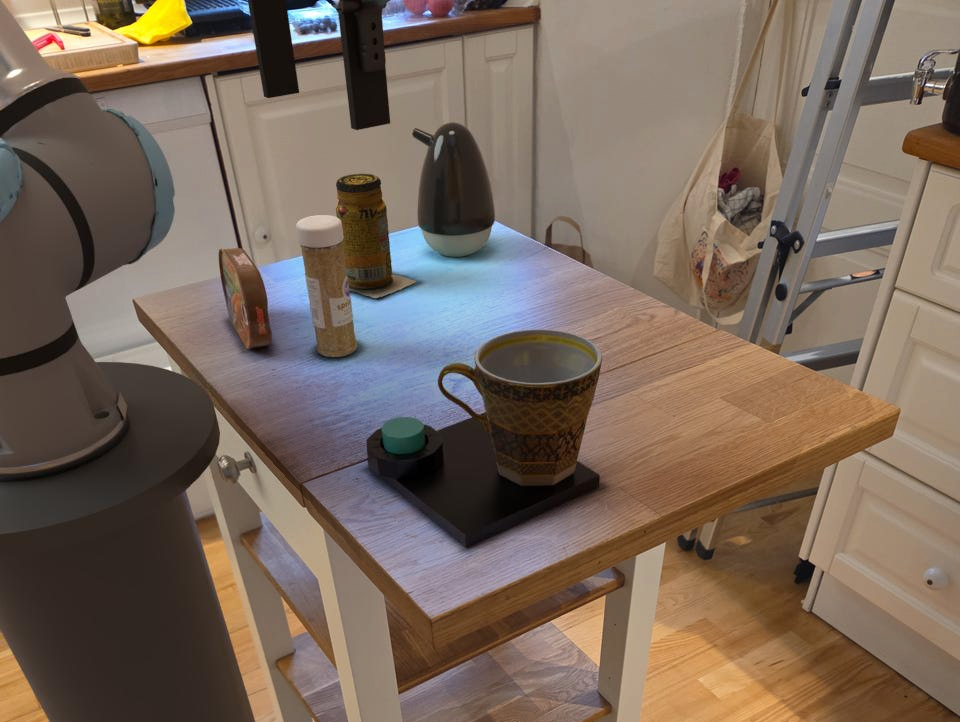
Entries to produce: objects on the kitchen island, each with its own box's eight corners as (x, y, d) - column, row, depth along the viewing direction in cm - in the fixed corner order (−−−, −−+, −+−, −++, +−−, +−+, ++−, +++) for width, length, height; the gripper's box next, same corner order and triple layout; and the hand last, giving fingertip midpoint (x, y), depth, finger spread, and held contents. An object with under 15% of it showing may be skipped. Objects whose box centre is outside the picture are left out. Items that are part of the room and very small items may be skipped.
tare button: (376, 443, 76) (373, 425, 75) (410, 430, 78) (409, 412, 77) (398, 460, 74) (396, 441, 73) (433, 446, 76) (432, 428, 74)
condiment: (371, 268, 115) (359, 167, 106) (417, 283, 110) (409, 178, 102) (329, 285, 111) (314, 181, 102) (375, 301, 106) (363, 194, 98)
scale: (356, 468, 78) (352, 438, 76) (489, 417, 84) (488, 388, 82) (458, 551, 69) (456, 519, 67) (599, 487, 75) (601, 456, 73)
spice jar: (358, 356, 95) (341, 226, 86) (316, 360, 95) (294, 229, 86) (357, 339, 98) (340, 211, 89) (316, 342, 98) (295, 214, 89)
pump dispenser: (433, 235, 123) (425, 111, 113) (504, 240, 121) (503, 114, 111) (407, 260, 116) (396, 130, 106) (482, 266, 114) (478, 134, 103)
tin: (226, 312, 105) (209, 239, 99) (251, 307, 106) (236, 234, 100) (253, 362, 95) (236, 283, 89) (281, 356, 96) (266, 278, 90)
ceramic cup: (589, 435, 79) (596, 327, 72) (599, 497, 72) (608, 383, 65) (445, 438, 79) (438, 330, 72) (440, 500, 72) (433, 386, 65)
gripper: (444, -343, 44) (462, 131, 59) (236, -290, 59) (291, 77, 74) (313, -352, 41) (366, 152, 55) (128, -293, 56) (207, 91, 71)
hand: (323, 110), depth 65 cm, fingers open, 13 cm apart
